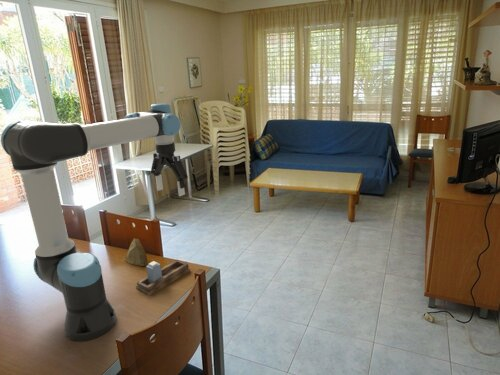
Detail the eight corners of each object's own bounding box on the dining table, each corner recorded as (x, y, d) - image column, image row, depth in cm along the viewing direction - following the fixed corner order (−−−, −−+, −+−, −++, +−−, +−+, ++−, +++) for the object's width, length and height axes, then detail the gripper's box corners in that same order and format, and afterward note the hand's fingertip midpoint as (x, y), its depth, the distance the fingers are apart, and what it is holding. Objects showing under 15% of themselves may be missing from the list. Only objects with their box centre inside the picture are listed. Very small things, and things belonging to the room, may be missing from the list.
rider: (154, 285, 135) (151, 266, 133) (148, 282, 137) (145, 264, 135) (162, 280, 138) (160, 262, 136) (156, 277, 140) (154, 259, 138)
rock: (154, 259, 152) (149, 246, 160) (140, 248, 147) (135, 236, 155) (135, 277, 151) (130, 264, 159) (120, 267, 146) (116, 254, 154)
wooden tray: (150, 295, 131) (149, 288, 130) (136, 288, 136) (135, 281, 135) (190, 270, 146) (189, 264, 145) (176, 265, 151) (175, 258, 150)
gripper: (193, 143, 142) (198, 194, 149) (152, 138, 156) (158, 185, 163) (179, 147, 136) (184, 200, 143) (138, 141, 151) (144, 190, 158)
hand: (170, 192), depth 153 cm, fingers open, 13 cm apart
